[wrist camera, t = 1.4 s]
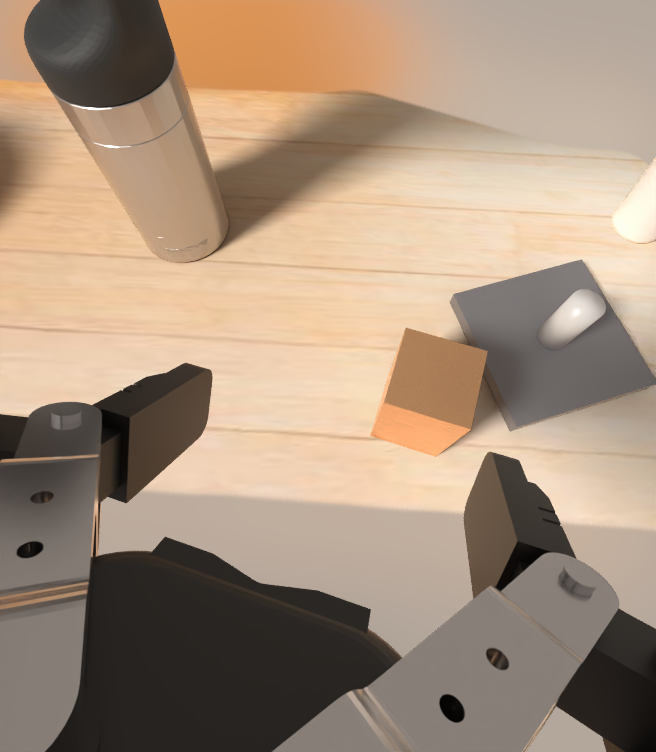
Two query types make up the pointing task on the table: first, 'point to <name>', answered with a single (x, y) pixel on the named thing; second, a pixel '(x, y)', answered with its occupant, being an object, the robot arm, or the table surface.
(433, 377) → the wooden block
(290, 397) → the table surface
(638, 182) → the drinking glass
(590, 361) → the post base
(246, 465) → the table surface
